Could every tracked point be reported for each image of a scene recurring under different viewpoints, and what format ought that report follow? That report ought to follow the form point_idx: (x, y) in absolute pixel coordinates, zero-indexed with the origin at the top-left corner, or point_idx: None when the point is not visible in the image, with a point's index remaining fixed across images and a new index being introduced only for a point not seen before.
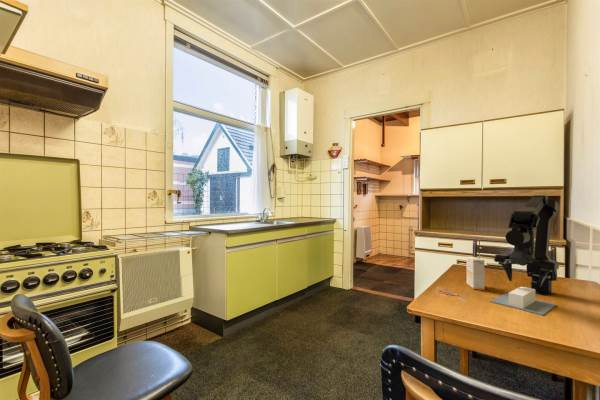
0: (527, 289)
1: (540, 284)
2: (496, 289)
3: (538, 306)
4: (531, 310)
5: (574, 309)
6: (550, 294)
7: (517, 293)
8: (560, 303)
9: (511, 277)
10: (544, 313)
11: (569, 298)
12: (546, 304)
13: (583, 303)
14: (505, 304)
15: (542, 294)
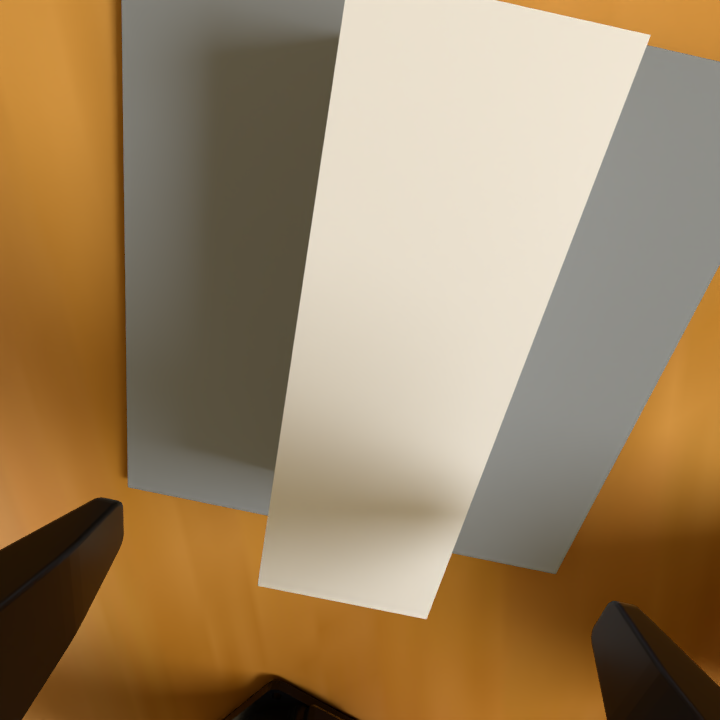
0: (339, 522)
1: (52, 527)
2: None
3: (233, 291)
4: (266, 19)
5: (5, 458)
6: (231, 713)
7: (466, 125)
8: (128, 553)
9: (624, 709)
10: (123, 22)
11: (120, 697)
12: (190, 425)
13: None
14: None
15: (275, 683)
